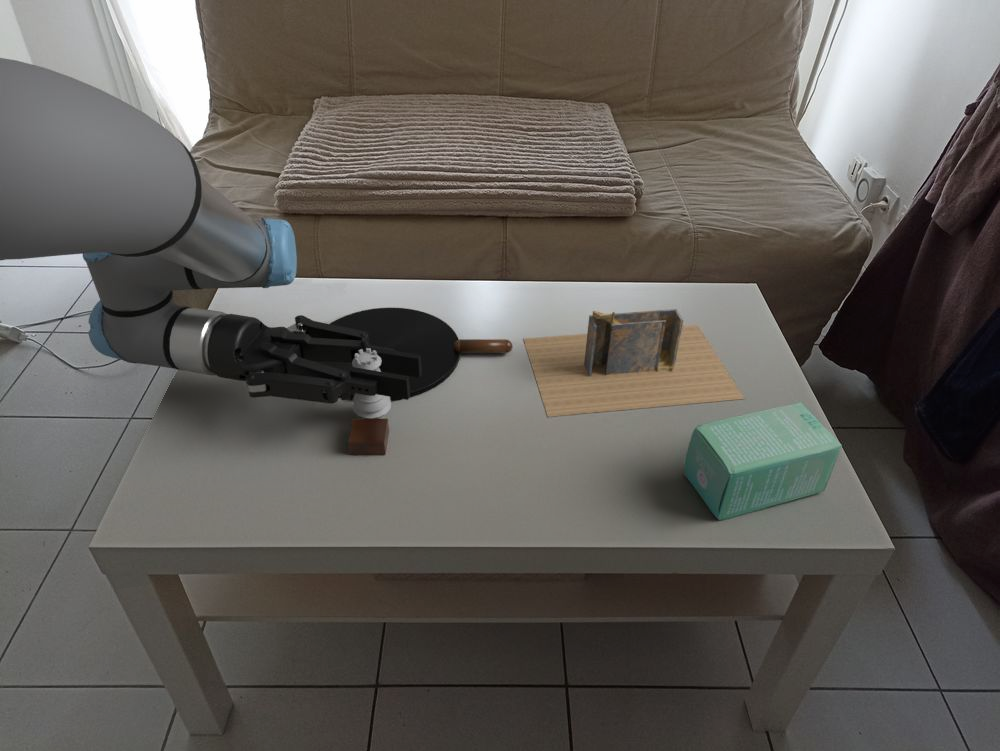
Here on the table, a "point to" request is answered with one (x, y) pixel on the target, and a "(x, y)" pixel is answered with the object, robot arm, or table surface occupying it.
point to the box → (760, 459)
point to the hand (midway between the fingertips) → (413, 377)
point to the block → (368, 437)
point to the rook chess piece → (363, 403)
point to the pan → (416, 342)
